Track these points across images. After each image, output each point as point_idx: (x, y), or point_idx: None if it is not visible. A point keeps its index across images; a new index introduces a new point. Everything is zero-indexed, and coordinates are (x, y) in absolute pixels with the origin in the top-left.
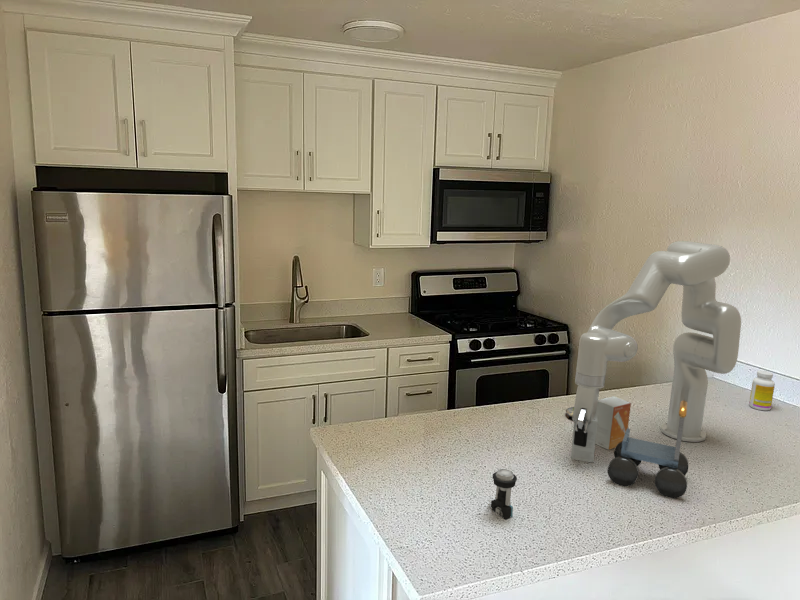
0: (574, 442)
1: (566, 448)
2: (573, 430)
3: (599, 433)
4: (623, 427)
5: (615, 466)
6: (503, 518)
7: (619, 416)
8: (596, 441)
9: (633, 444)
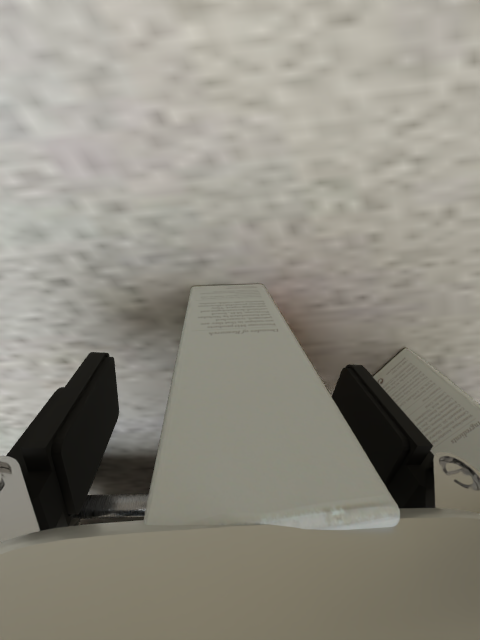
0: (87, 362)
1: (310, 252)
2: (174, 380)
3: (412, 411)
4: None
5: None
6: None
7: None
8: (392, 373)
9: None
